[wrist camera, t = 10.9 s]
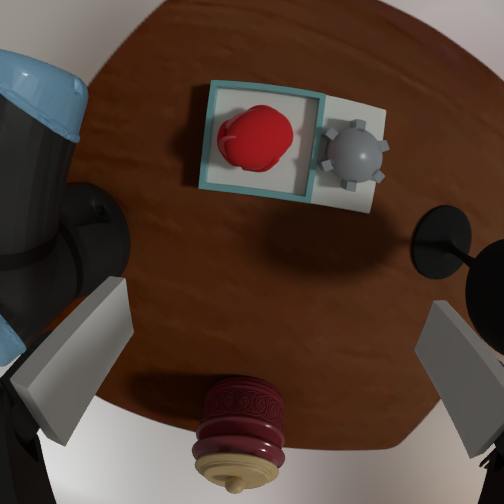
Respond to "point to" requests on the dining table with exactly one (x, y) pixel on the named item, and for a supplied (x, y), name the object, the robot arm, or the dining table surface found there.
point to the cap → (255, 138)
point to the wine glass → (481, 268)
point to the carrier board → (300, 147)
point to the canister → (240, 434)
